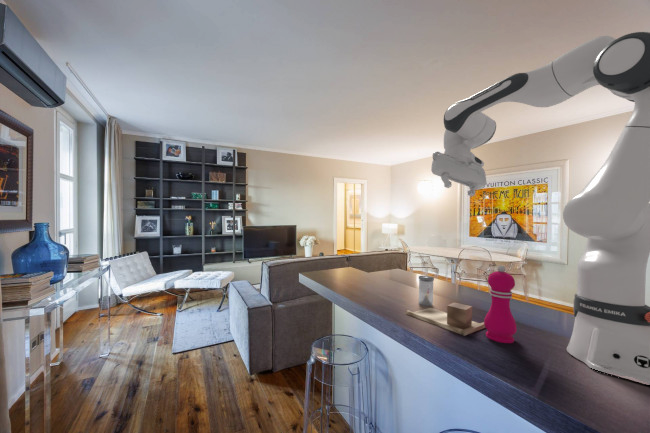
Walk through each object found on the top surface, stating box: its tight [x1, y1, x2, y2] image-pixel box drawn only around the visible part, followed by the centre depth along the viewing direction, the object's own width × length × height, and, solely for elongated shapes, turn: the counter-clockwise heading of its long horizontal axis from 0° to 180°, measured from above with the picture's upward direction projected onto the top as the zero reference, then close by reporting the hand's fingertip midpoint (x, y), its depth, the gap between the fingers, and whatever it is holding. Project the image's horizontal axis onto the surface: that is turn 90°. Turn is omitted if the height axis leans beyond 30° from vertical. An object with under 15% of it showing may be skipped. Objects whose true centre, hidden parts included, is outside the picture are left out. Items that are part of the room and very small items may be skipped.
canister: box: [418, 275, 435, 307], centre depth 100 cm, size 5×5×11 cm
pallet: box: [405, 307, 486, 336], centre depth 84 cm, size 19×13×2 cm
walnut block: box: [446, 301, 473, 330], centre depth 79 cm, size 5×5×6 cm
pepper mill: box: [483, 265, 518, 344], centre depth 72 cm, size 7×7×20 cm
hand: (459, 191), depth 94 cm, fingers open, 8 cm apart
